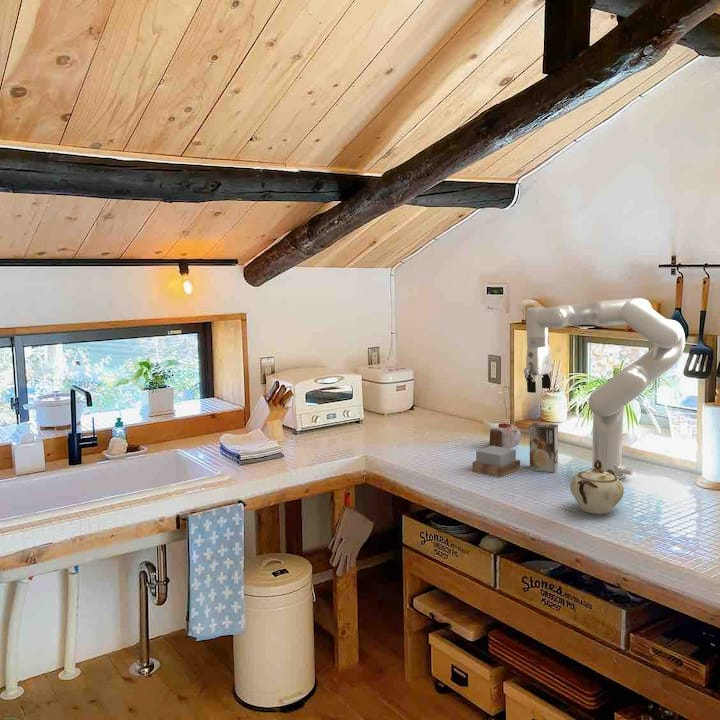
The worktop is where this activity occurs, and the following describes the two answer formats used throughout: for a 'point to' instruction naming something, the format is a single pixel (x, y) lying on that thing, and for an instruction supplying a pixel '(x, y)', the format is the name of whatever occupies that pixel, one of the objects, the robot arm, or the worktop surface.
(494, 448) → the tower top block
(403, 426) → the worktop surface
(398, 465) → the worktop surface
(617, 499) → the sugar bowl
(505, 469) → the tower base block
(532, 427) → the coffee box
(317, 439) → the worktop surface
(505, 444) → the food item
